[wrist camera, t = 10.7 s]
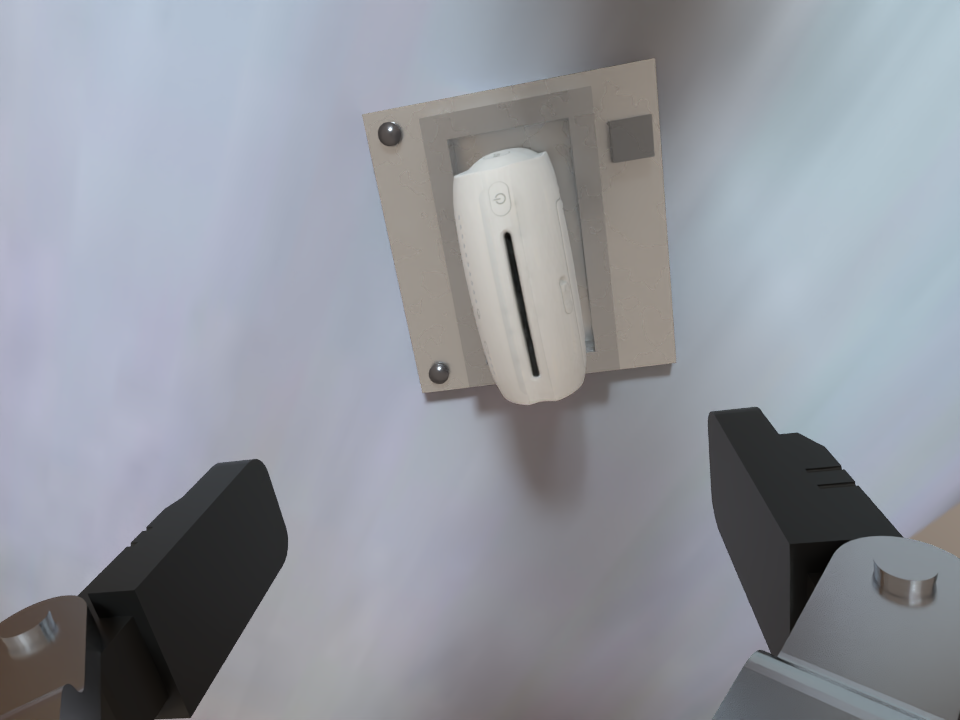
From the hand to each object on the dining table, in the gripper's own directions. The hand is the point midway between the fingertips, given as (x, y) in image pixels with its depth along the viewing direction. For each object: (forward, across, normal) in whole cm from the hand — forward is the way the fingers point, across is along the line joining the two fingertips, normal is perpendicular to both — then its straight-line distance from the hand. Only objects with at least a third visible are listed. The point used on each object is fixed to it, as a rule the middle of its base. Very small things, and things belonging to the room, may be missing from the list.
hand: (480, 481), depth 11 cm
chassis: (+26, 0, 0) cm, 26 cm away
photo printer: (+25, 0, 0) cm, 25 cm away
